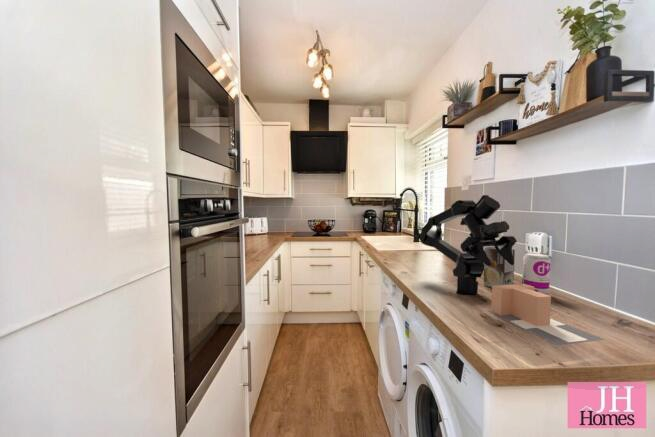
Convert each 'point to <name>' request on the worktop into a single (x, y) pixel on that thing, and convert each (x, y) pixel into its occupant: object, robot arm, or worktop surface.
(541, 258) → the supplement can
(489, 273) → the coffee box
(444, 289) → the worktop surface
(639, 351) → the worktop surface
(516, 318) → the mat
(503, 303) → the t block
